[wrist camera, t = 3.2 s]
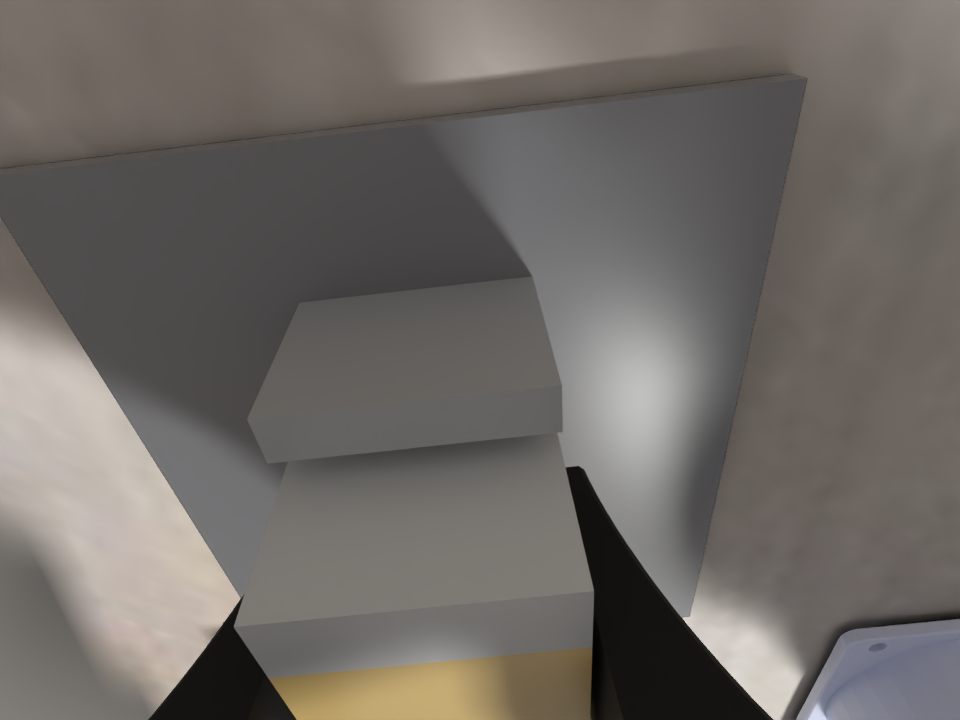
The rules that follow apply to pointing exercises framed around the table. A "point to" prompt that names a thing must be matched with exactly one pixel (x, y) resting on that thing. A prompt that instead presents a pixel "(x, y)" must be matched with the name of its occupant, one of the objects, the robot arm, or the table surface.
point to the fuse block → (431, 296)
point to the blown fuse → (425, 586)
